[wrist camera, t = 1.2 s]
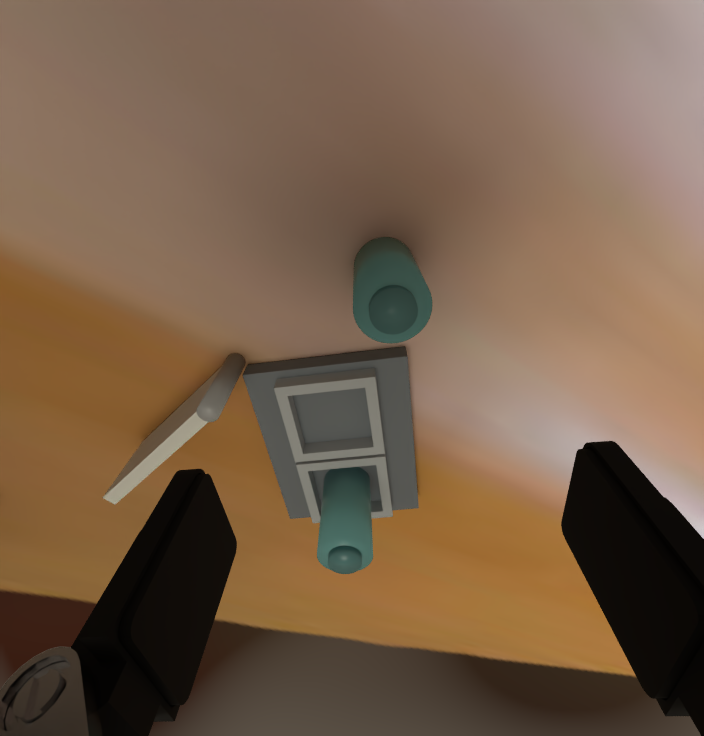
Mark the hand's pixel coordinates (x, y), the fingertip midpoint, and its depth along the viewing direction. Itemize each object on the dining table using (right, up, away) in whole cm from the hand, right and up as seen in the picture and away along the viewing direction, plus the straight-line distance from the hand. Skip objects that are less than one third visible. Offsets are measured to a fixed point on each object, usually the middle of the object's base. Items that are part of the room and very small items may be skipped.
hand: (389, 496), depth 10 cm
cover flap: (-14, +1, +21) cm, 25 cm away
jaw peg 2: (+1, +10, +15) cm, 18 cm away
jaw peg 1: (-1, -7, +23) cm, 24 cm away
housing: (-2, -3, +23) cm, 23 cm away
